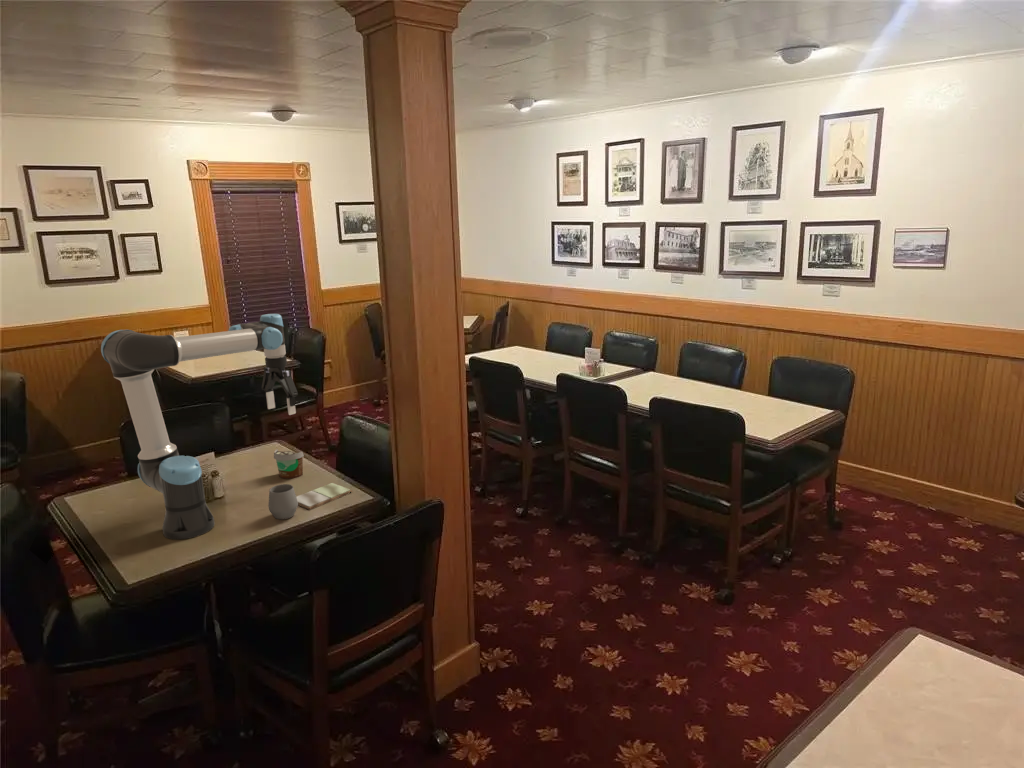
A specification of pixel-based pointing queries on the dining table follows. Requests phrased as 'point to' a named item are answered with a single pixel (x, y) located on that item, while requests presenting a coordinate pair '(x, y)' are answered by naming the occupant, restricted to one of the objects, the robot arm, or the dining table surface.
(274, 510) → the cup
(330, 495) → the green and white board
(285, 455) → the food container
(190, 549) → the dining table surface
